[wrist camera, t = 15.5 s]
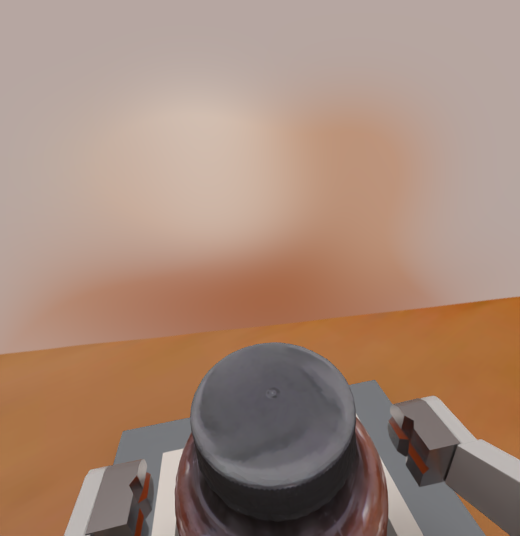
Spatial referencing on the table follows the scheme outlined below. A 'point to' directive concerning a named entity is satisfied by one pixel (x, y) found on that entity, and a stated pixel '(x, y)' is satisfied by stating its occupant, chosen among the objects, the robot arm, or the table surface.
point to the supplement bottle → (278, 451)
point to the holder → (375, 422)
